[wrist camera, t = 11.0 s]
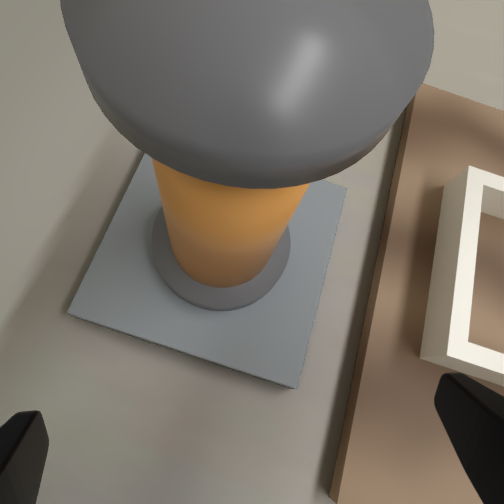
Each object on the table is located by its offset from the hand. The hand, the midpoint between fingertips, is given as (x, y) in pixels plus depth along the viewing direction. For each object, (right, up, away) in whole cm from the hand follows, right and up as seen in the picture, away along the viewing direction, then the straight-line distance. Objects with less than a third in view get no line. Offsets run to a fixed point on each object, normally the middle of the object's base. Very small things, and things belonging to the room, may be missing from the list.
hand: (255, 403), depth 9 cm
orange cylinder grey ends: (-2, +4, +9) cm, 10 cm away
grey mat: (-2, +3, +10) cm, 11 cm away
